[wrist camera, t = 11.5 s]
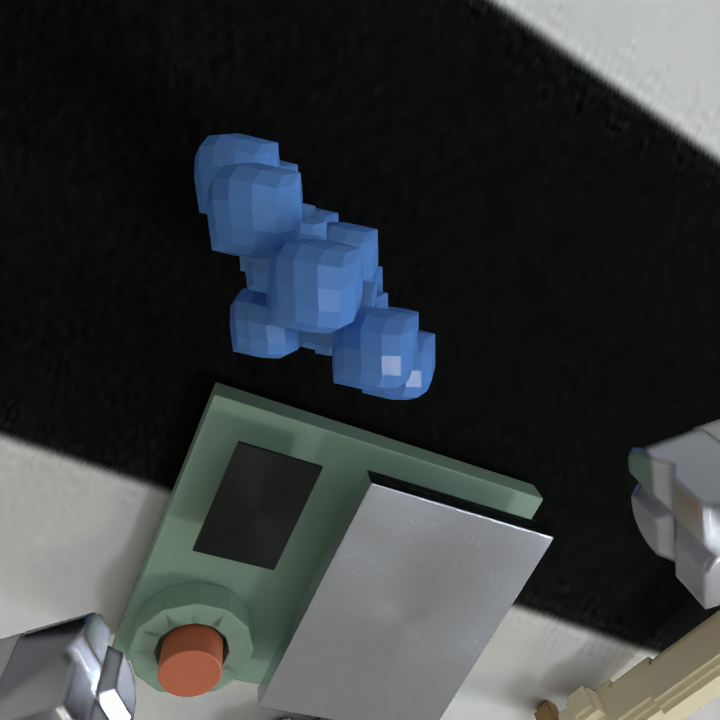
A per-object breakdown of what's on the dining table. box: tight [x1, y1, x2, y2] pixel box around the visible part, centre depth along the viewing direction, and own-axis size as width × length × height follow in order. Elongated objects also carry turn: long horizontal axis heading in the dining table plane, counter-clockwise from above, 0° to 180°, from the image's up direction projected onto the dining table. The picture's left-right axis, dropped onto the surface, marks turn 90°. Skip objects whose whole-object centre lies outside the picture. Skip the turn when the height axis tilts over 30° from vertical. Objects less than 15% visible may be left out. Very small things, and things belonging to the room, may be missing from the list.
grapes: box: [194, 133, 435, 400], centre depth 23 cm, size 12×7×12 cm, turn 39°
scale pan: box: [193, 441, 553, 720], centre depth 32 cm, size 16×14×1 cm
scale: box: [112, 382, 543, 693], centre depth 34 cm, size 18×16×3 cm
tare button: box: [158, 624, 223, 697], centre depth 32 cm, size 3×3×2 cm
